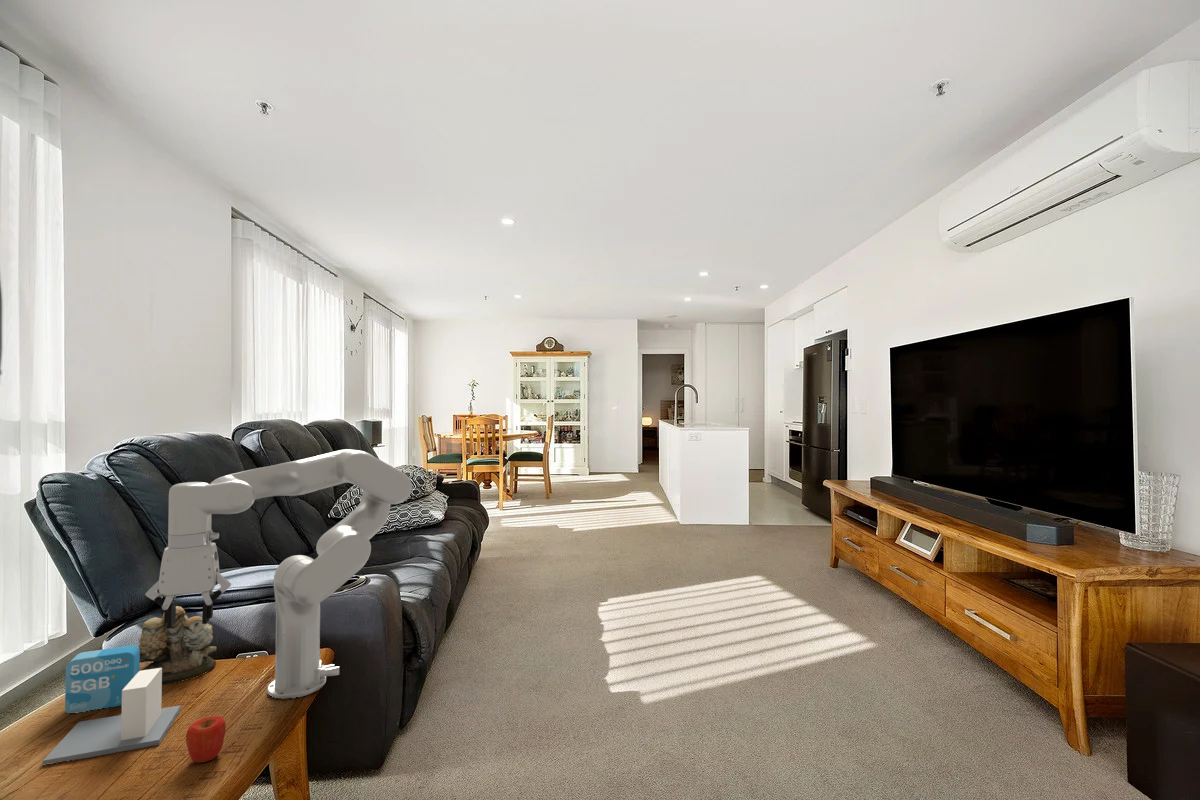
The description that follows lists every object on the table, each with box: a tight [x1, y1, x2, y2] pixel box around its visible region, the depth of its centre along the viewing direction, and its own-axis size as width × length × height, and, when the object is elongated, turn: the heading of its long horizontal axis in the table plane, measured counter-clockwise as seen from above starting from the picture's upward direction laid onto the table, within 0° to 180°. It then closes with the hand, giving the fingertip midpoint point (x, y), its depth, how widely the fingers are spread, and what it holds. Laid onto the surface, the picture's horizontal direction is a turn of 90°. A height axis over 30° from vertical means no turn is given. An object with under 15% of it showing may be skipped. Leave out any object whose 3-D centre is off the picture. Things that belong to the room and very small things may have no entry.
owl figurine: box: [138, 605, 217, 686], centre depth 143 cm, size 18×12×17 cm, turn 124°
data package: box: [64, 644, 140, 714], centre depth 128 cm, size 12×4×12 cm, turn 116°
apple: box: [185, 715, 227, 764], centre depth 108 cm, size 6×6×8 cm
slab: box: [121, 668, 163, 740], centre depth 117 cm, size 4×9×10 cm, turn 22°
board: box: [42, 705, 182, 765], centre depth 116 cm, size 18×14×1 cm
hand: (188, 623), depth 121 cm, fingers open, 5 cm apart
